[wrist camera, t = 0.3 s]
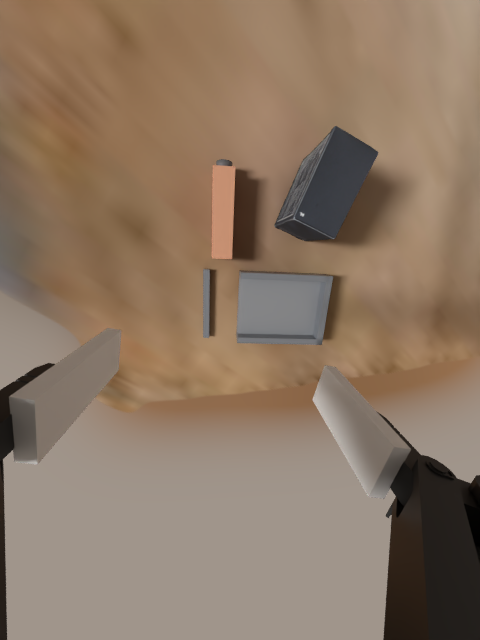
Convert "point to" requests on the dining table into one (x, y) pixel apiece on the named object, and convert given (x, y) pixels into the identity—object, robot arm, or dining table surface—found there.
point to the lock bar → (223, 209)
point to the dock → (277, 307)
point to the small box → (326, 187)
